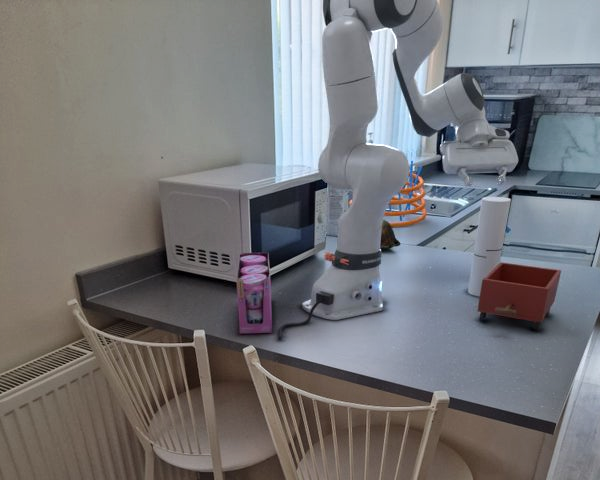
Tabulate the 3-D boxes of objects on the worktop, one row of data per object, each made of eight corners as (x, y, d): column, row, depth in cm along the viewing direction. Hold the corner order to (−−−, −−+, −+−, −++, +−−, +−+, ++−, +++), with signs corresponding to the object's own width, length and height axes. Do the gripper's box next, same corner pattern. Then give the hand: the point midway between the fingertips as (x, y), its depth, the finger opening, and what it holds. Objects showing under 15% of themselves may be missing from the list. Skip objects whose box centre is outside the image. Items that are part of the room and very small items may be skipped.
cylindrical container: (495, 297, 147) (512, 201, 135) (468, 296, 148) (483, 201, 136) (493, 289, 153) (508, 197, 141) (467, 287, 154) (480, 196, 142)
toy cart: (533, 342, 120) (543, 295, 115) (468, 330, 127) (475, 285, 122) (551, 312, 136) (561, 270, 131) (493, 303, 143) (500, 262, 138)
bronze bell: (336, 224, 189) (379, 203, 192) (339, 249, 198) (380, 229, 201) (362, 249, 180) (407, 227, 182) (364, 274, 189) (406, 253, 192)
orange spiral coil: (436, 217, 244) (446, 161, 230) (406, 239, 220) (415, 178, 206) (368, 204, 259) (373, 151, 245) (333, 223, 235) (336, 165, 220)
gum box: (272, 335, 126) (270, 279, 119) (239, 336, 126) (234, 280, 119) (271, 301, 147) (269, 251, 140) (242, 302, 147) (238, 252, 140)
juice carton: (339, 237, 210) (341, 162, 196) (316, 234, 215) (316, 161, 201) (349, 232, 217) (351, 160, 203) (326, 230, 221) (327, 159, 208)
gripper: (442, 133, 141) (453, 177, 138) (514, 131, 144) (526, 174, 141) (434, 150, 147) (444, 193, 144) (503, 147, 150) (514, 190, 147)
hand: (485, 184), depth 142 cm, fingers open, 8 cm apart
